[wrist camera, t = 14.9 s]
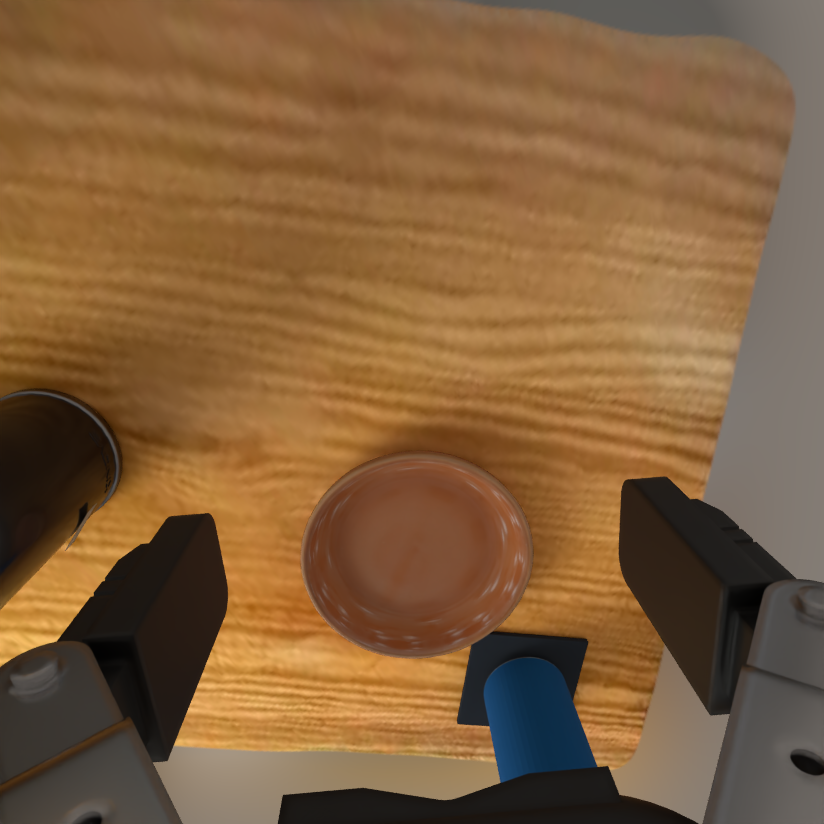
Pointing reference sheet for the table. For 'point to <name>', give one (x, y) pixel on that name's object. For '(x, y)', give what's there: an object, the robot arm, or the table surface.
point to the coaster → (508, 647)
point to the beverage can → (534, 720)
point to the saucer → (416, 554)
